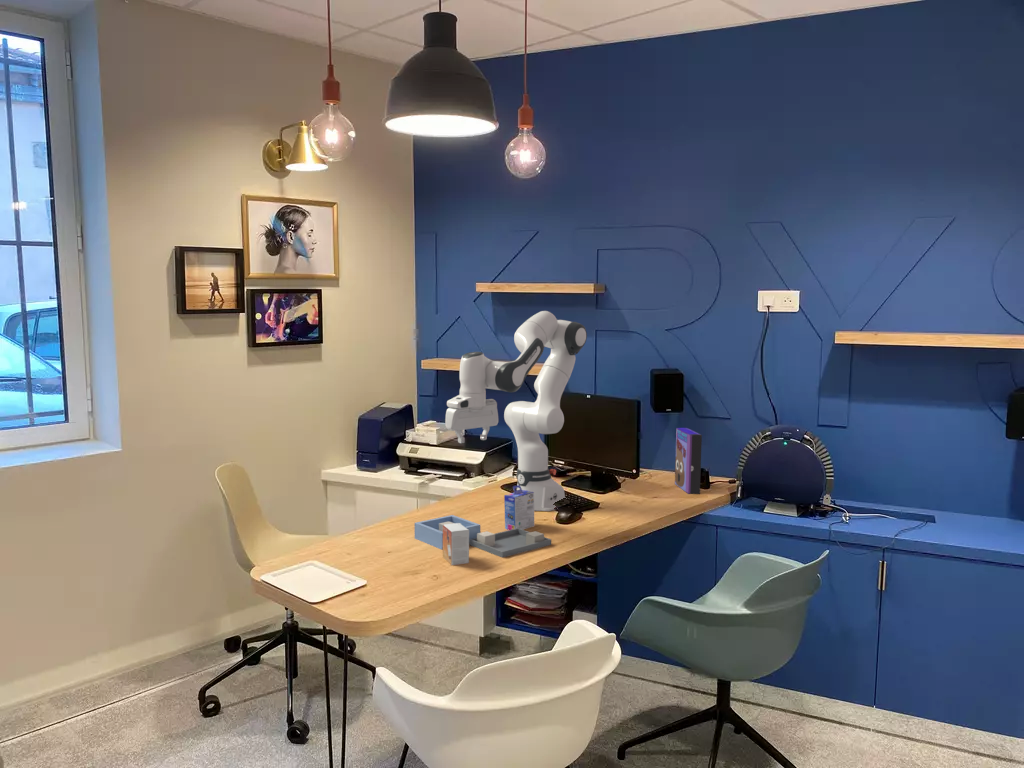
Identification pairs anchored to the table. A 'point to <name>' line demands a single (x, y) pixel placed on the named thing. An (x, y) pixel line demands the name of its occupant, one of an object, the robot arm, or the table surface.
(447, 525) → the small box
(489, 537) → the cream sharp-edged cube
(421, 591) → the table surface
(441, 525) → the beige cardboard cube
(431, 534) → the blue square bin
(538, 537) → the gray cube
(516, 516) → the ink cartridge box
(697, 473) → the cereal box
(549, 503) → the robot arm
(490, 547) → the parts tray
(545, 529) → the table surface
